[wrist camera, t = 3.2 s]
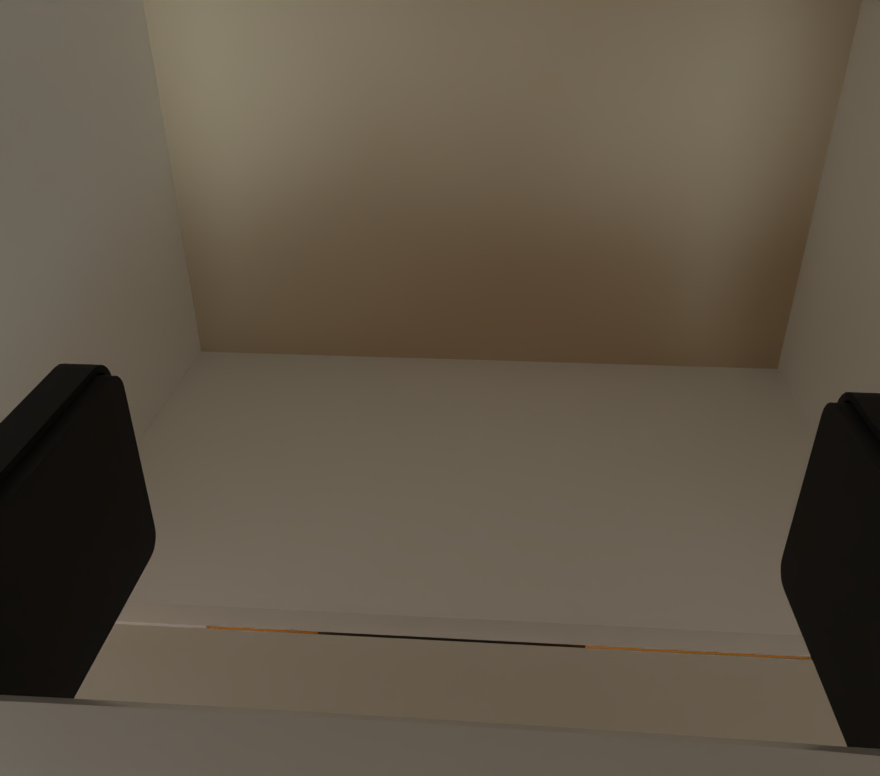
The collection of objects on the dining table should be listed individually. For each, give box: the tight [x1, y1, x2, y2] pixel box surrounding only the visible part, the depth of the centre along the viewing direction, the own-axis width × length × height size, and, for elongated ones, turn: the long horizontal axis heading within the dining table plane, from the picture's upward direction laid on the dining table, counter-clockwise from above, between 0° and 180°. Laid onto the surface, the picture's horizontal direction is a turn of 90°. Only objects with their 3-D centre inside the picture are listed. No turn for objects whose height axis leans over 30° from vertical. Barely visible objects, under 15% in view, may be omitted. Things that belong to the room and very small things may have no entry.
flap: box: [74, 624, 847, 747], centre depth 13 cm, size 20×9×1 cm
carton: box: [0, 0, 880, 657], centre depth 18 cm, size 20×18×12 cm
